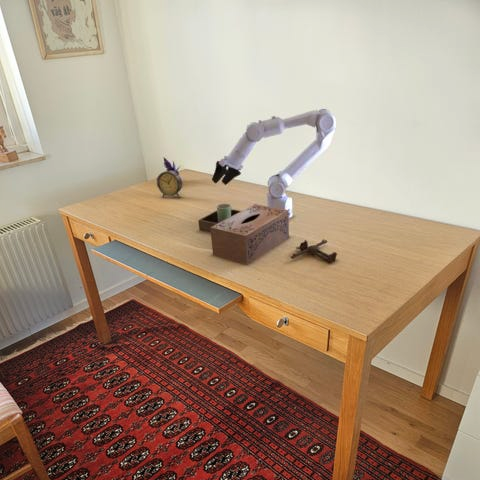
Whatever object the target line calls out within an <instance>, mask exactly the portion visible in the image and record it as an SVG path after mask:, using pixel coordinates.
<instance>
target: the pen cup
mask: <svg viewBox="0 0 480 480" xmlns="http://www.w3.org/2000/svg"><path fill="white" fill-rule="evenodd" d="M231 209H232V205H231V204H230V203H220V204H218V205H216V210H217V216H218V223H220V222H222V221H223V220H225V219H227V218H229V217H231Z"/></svg>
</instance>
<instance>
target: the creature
mask: <svg viewBox="0 0 480 480" xmlns="http://www.w3.org/2000/svg"><path fill="white" fill-rule="evenodd" d="M165 161H169V160H168V159H167V158H166V157H163V163H164V162H165ZM169 162H170V161H169ZM169 162H165V166H164V167H166V168H165V169H166V170H165V171H167V167H168V168H169V167H170V163H171V162H170V163H169ZM180 168H181V166H178V167H177V168H176V164H175V162H174V160H172V165H171V167H170V168H169V170H172V171H174V172H176V173H177V174H178V175H179V176H180V172H179V169H180ZM160 174H161V173H159V174H158V176H159V175H160ZM157 179H158V177H156V180H157Z"/></svg>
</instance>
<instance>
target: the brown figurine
mask: <svg viewBox="0 0 480 480" xmlns="http://www.w3.org/2000/svg"><path fill="white" fill-rule="evenodd" d="M327 243H328V240H327V239H324V238H323V239H321V241H320V242H319V243H316V244H313V245H309V243H308V240H306V239H305V240H304V241H303V242H300V244H299V246H296V247H295V249H296V250H299V252H297V253H292V255H291V256H290V259H292V260H293V259H294V260H295V259H296V258H298V257H299V256H301V255H304V254H309V255H311V256H316V257H317V258H320V259H322V260H323V261H325V262H327V263H329V264H330V263H332V262H335V261H336V259H337V255H338V253H337V252H336V251H333V252H332V253H330V254H328V253H327V252H325V251H322V250H320V249H319V247H321V246H322V245H325V244H327Z"/></svg>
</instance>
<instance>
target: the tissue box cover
mask: <svg viewBox="0 0 480 480" xmlns="http://www.w3.org/2000/svg"><path fill="white" fill-rule="evenodd" d="M240 211H241V212H239V213H237V214H235V215H233V216H231V217H229V218H227V219H225V220H223V221H222V222H220V223H218V224H216V225H214V226H212V227H210V229H211V233H210V239H211V250H212V256H214V257H218V258H222V259H225V260H229V261H232V262H235V263H238V264H239V263H240V264H243V265H245V266H246V265H249V264H251V263H252V262H254V261H255V260H257V259H258V258H260V257H261V256H263V255H265V254H266V253H268V252H269V251H270V250H272V249H274V248H275V247H277V246H278V245H279V244H281V243H282V242H284V241H285V240H287V239H289V237H290V218H289V210H284V209H278V208H273V207H268V206H267V205H262V204H257V203H255V204H253V205H250V206H248V207H247V208H245V209H243V210H240Z"/></svg>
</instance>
